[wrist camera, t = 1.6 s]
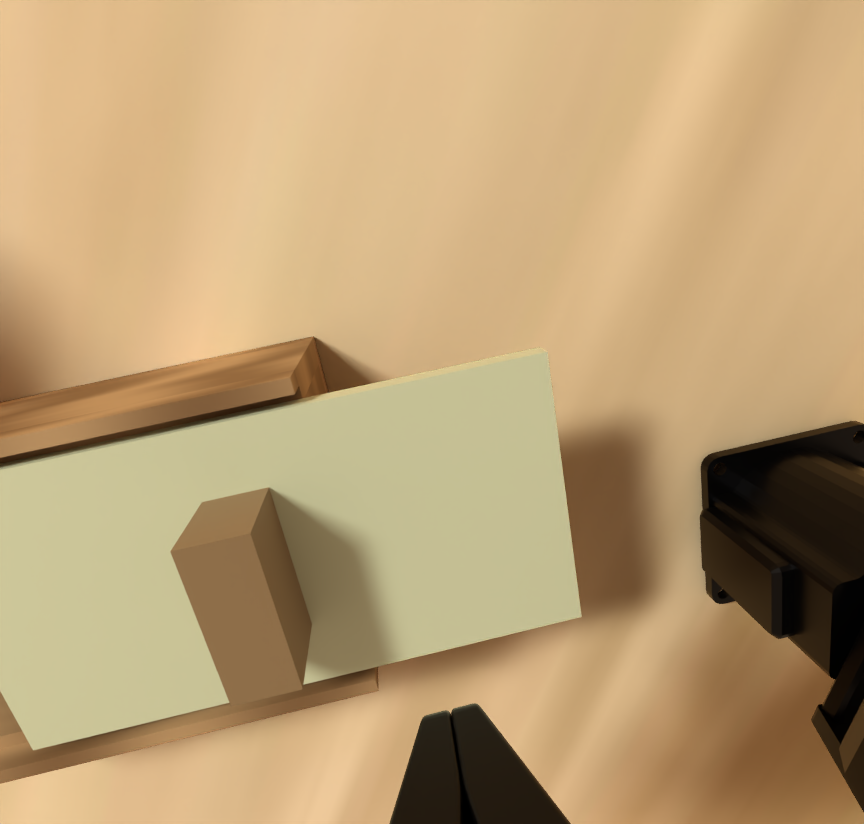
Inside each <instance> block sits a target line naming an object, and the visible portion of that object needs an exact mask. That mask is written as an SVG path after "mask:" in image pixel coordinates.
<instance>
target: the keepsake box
mask: <svg viewBox="0 0 864 824" xmlns="http://www.w3.org/2000/svg"><path fill="white" fill-rule="evenodd" d="M325 393H328V389H327V385H326V381H325V377H324V373H323V370H322V366H321V362H320V358H319V354H318V351H317V347H316V343H315V339H314V336H313V337H309V338H304V339H299V340H294V341H290V342H285V343H280V344H275V345H271V346H266V347H261V348H256V349H252V350H247V351H242V352H237V353H233V354H228V355H223V356H218V357H214V358H209V359H204V360H199V361H195V362H190V363H185V364H180V365H176V366H171V367H166V368H161V369H157V370H152V371H147V372H142V373H138V374H133V375H128V376H123V377H119V378H114V379H109V380H104V381H100V382H95V383H90V384H85V385H81V386H76V387H71V388H66V389H62V390H57V391H52V392H47V393H43V394H38V395H33V396H28V397H24V398H19V399H14V400H9V401H5V402H0V464H1V463H6V462H11V461H15V460H20V459H24V458H29V457H34V456H38V455H43V454H48V453H52V452H57V451H61V450H66V449H71V448H75V447H80V446H85V445H89V444H94V443H99V442H103V441H108V440H112V439H117V438H122V437H126V436H131V435H136V434H140V433H145V432H149V431H154V430H159V429H163V428H168V427H173V426H177V425H182V424H186V423H191V422H196V421H200V420H205V419H210V418H214V417H219V416H223V415H228V414H233V413H237V412H242V411H247V410H251V409H256V408H260V407H265V406H270V405H274V404H279V403H284V402H288V401H293V400H297V399H302V398H307V397H311V396H316V395H321V394H325ZM375 691H378V667H374V668H370V669H366V670H362V671H358V672H354V673H349V674H345V675H341V676H337V677H333V678H329V679H325V680H321V681H317V682H312V683H308V684H304V685H303V689H302V690H298V691H293V692H289V693H285V694H281V695H277V696H273V697H269V698H265V699H261V700H257V701H252V702H248V703H244V704H240V705H236V706H232V707H231V705H230V703H226V704H222V705H218V706H214V707H210V708H206V709H201V710H197V711H193V712H189V713H185V714H181V715H177V716H173V717H169V718H165V719H160V720H156V721H152V722H148V723H144V724H140V725H136V726H132V727H128V728H123V729H119V730H115V731H111V732H107V733H103V734H99V735H95V736H91V737H86V738H82V739H78V740H74V741H70V742H66V743H62V744H58V745H54V746H49V747H45V748H41V749H37V750H33V749H32V748H31V746H30V744H29V742H28V740H27V739H26V737H25V735H24V733H23V731H22V730H21V728H20V726H19V724H18V722H17V721H16V719H15V717H14V715H13V713H12V711H11V710H10V708H9V706H8V704H7V702H6V701H5V699H4V697H3V695H2V693H1V692H0V784H1V783H5V782H9V781H13V780H17V779H21V778H25V777H29V776H33V775H37V774H42V773H46V772H50V771H54V770H58V769H62V768H66V767H70V766H74V765H78V764H82V763H86V762H90V761H94V760H99V759H103V758H107V757H111V756H115V755H119V754H123V753H127V752H131V751H135V750H139V749H143V748H147V747H151V746H156V745H160V744H164V743H168V742H172V741H176V740H180V739H184V738H188V737H192V736H196V735H200V734H204V733H208V732H213V731H217V730H221V729H225V728H229V727H233V726H237V725H241V724H245V723H249V722H253V721H257V720H261V719H265V718H270V717H274V716H278V715H282V714H286V713H290V712H294V711H298V710H302V709H306V708H310V707H314V706H318V705H322V704H327V703H331V702H335V701H339V700H343V699H347V698H351V697H355V696H359V695H363V694H367V693H371V692H375Z"/></svg>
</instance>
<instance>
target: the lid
mask: <svg viewBox="0 0 864 824" xmlns="http://www.w3.org/2000/svg"><path fill="white" fill-rule="evenodd" d="M580 617H582V615H581V608H580V600H579V592H578V584H577V577H576V569H575V561H574V554H573V546H572V538H571V530H570V523H569V515H568V507H567V499H566V492H565V484H564V476H563V468H562V461H561V453H560V445H559V437H558V430H557V422H556V414H555V406H554V399H553V391H552V383H551V375H550V368H549V360H548V352H547V351H545V350H544V349H542V348H540V347H538V348H533V349H529V350H524V351H520V352H515V353H510V354H506V355H501V356H496V357H492V358H487V359H483V360H478V361H473V362H469V363H464V364H459V365H455V366H450V367H445V368H441V369H436V370H432V371H427V372H422V373H418V374H413V375H408V376H404V377H399V378H395V379H390V380H385V381H381V382H376V383H371V384H367V385H362V386H358V387H353V388H348V389H344V390H339V391H334V392H330V393H325V394H321V395H316V396H311V397H307V398H302V399H297V400H293V401H288V402H284V403H279V404H274V405H270V406H265V407H260V408H256V409H251V410H247V411H242V412H237V413H233V414H228V415H223V416H219V417H214V418H210V419H205V420H200V421H196V422H191V423H186V424H182V425H177V426H173V427H168V428H163V429H159V430H154V431H149V432H145V433H140V434H136V435H131V436H126V437H122V438H117V439H112V440H108V441H103V442H99V443H94V444H89V445H85V446H80V447H75V448H71V449H66V450H61V451H57V452H52V453H48V454H43V455H38V456H34V457H29V458H24V459H20V460H15V461H11V462H6V463H1V464H0V692H1V693H2V695H3V697H4V699H5V701H6V702H7V704H8V706H9V708H10V710H11V711H12V713H13V715H14V717H15V719H16V721H17V722H18V724H19V726H20V728H21V730H22V731H23V733H24V735H25V737H26V739H27V740H28V742H29V744H30V746H31V748H32V749H33V750H37V749H41V748H45V747H49V746H54V745H58V744H62V743H66V742H70V741H74V740H78V739H82V738H86V737H91V736H95V735H99V734H103V733H107V732H111V731H115V730H119V729H123V728H128V727H132V726H136V725H140V724H144V723H148V722H152V721H156V720H160V719H165V718H169V717H173V716H177V715H181V714H185V713H189V712H193V711H197V710H201V709H206V708H210V707H214V706H218V705H222V704H226V703H230V705H231V707H232V706H236V705H240V704H244V703H248V702H252V701H257V700H261V699H265V698H269V697H273V696H277V695H281V694H285V693H289V692H293V691H298V690H302V689H303V685H304V684H308V683H312V682H317V681H321V680H325V679H329V678H333V677H337V676H341V675H345V674H349V673H354V672H358V671H362V670H366V669H370V668H374V667H378V666H382V665H386V664H391V663H395V662H399V661H403V660H407V659H411V658H415V657H419V656H423V655H428V654H432V653H436V652H440V651H444V650H448V649H452V648H456V647H460V646H465V645H469V644H473V643H477V642H481V641H485V640H489V639H493V638H497V637H502V636H506V635H510V634H514V633H518V632H522V631H526V630H530V629H534V628H539V627H543V626H547V625H551V624H555V623H559V622H563V621H567V620H571V619H576V618H580Z"/></svg>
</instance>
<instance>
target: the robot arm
mask: <svg viewBox="0 0 864 824" xmlns="http://www.w3.org/2000/svg"><path fill="white" fill-rule="evenodd" d="M856 432H857V433H856ZM855 433H856V436H855V437H854V438H853V436H854V434H855ZM718 463H720V466H719V468H718V469H717V470H715V471H713V470H714V467H715V466H716V464H718ZM701 483H702V506H703V510H702V512H701V515H700V530H701V552H702V568H703V570H704V571H705V575H706V591H707V594H708V595H709V596H710V597H711V598H712V599H713V600H714V601H715V602H716V603H719V604H724V603H728V602H732V601H736V602H737V603H738V604H739V605H740V606H741V607H742V608H744V609H745V610H746V611H747V612H748V613H749V614H750V615H751V616H752V617H753V618H754V619H755V620H756V621H757V622H758V623H759V624H760V625H761V626H762V627H763V628H764V629H765V630H766V631H767V632H768V633H770V634H771V635H773V636H774V637H776V638H778V639H781V638H785V637H788V638H789V639H790V640H791V641H792V642H793V643H794V644H796V645H797V646H798V647H799V648H800V649H801V650H802V651H803V652H804V653H805V654H806V655H807V656H808V657H809V658H811V659H812V660H813V661H814V662H815V663H816V664H817V665H818V666H819V667H820V668H821V669H822V670H823V671H825V672H826V673H827V674H828V675H829V676H830V677H831V678H833V679H835V681H834V683H833V685H832V687H831V689H830V691H829V693H828V695H827V697H826V699H825V701H824V703H823V704H819V705H818V707H817V709H816V711H815V713H814V715H813V717H812V719H811V720H812V723H813V724H814V726H815V728H816V730H817V731H818V733H819V735H820V737H821V738H822V740H823V742H824V744H825V745H826V747H827V749H828V751H829V752H830V754H831V756H832V758H833V759H834V761H835V763H836V765H837V766H838V768H839V770H840V772H841V773H842V775H843V777H844V779H845V780H846V782H847V784H848V786H849V787H850V789H851V791H852V793H853V794H854V796H855V798H856V800H857V801H858V803H859V805H860V807H861V808H862V810H863V812H864V424H862V423H860V422H857V421H850V422H845V423H841V424H837V425H832V426H828V427H824V428H819V429H815V430H811V431H806V432H802V433H798V434H793V435H789V436H785V437H780V438H776V439H772V440H767V441H763V442H759V443H754V444H750V445H746V446H741V447H737V448H733V449H728V450H724V451H720V452H715V453H712V454H709V455H708V456H707V457H705V458H704V460H703V462H702V464H701ZM722 588H723V589H722ZM720 589H722V591H720ZM719 591H720V592H719ZM390 824H571V823H570V822H569V821H568V820H567V818H566V817H565V816H564V814H563V813H562V812H561V810H560V809H559V808H558V807H557V805H556V804H555V803H554V801H553V800H552V799H551V798H550V796H549V795H548V794H547V792H546V791H545V790H544V788H543V787H542V786H541V785H540V783H539V782H538V781H537V779H536V778H535V777H534V776H533V774H532V773H531V772H530V770H529V769H528V768H527V766H526V765H525V764H524V763H523V761H522V760H521V759H520V757H519V756H518V755H517V754H516V752H515V751H514V750H513V748H512V747H511V746H510V745H509V743H508V742H507V741H506V739H505V738H504V737H503V735H502V734H501V733H500V732H499V730H498V729H497V728H496V726H495V725H494V724H493V723H492V721H491V720H490V719H489V717H488V716H487V715H486V713H485V712H484V711H483V710H482V708H481V707H480V706H479V705H478V704H470V705H466V706H462V707H458V708H454V709H453V710H452V712H451V714H450V712H449V711H441V712H437V713H433V714H429V715H426V716H424V717H423V719H422V721H421V723H420V726H419V730H418V733H417V736H416V739H415V743H414V746H413V749H412V752H411V756H410V759H409V762H408V765H407V769H406V772H405V775H404V778H403V782H402V785H401V788H400V791H399V795H398V798H397V801H396V804H395V807H394V811H393V814H392V817H391V820H390Z"/></svg>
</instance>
